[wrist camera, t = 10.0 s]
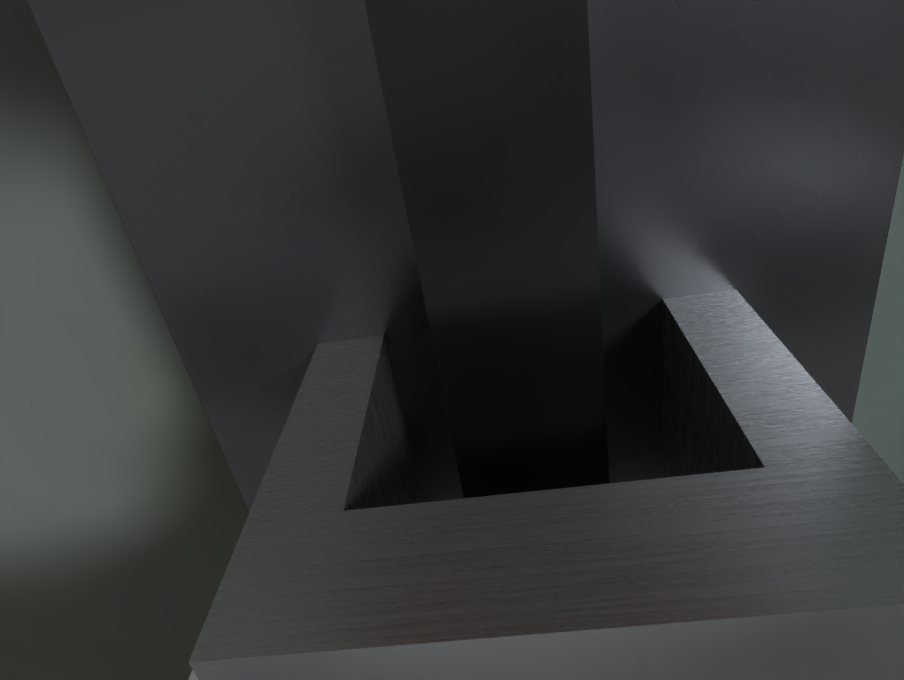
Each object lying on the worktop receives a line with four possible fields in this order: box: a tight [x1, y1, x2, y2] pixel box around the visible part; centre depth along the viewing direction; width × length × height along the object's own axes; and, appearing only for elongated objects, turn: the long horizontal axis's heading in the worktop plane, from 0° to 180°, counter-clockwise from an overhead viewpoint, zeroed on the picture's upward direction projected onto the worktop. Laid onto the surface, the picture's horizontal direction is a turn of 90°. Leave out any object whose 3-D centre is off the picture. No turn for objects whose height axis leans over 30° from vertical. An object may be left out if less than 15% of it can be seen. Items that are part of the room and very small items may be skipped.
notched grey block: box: [188, 290, 904, 680], centre depth 9 cm, size 7×6×5 cm
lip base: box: [27, 0, 904, 512], centre depth 9 cm, size 16×10×8 cm, turn 9°
